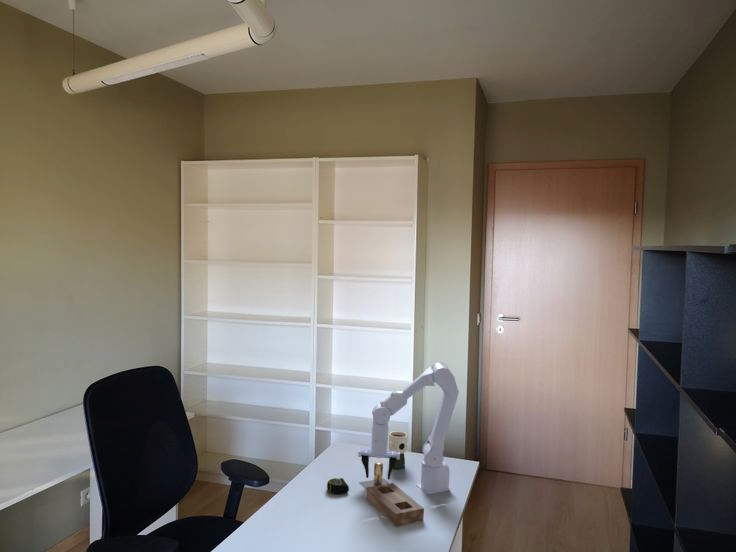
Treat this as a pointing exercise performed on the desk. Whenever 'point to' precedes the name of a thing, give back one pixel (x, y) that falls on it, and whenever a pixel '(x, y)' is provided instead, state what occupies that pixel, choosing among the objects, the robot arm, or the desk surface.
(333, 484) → the tape measure
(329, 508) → the desk surface
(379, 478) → the brass pin
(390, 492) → the block
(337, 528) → the desk surface
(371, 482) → the rubber mat
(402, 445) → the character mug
